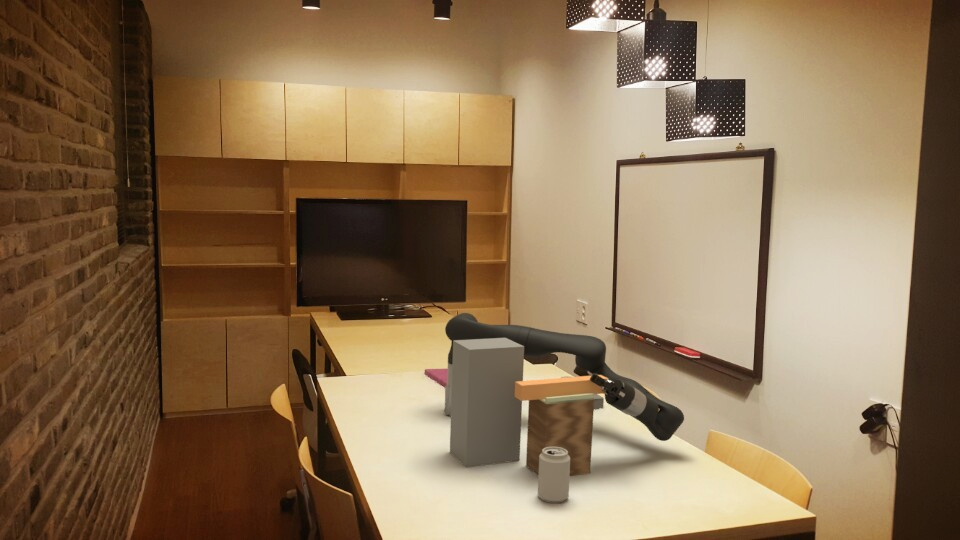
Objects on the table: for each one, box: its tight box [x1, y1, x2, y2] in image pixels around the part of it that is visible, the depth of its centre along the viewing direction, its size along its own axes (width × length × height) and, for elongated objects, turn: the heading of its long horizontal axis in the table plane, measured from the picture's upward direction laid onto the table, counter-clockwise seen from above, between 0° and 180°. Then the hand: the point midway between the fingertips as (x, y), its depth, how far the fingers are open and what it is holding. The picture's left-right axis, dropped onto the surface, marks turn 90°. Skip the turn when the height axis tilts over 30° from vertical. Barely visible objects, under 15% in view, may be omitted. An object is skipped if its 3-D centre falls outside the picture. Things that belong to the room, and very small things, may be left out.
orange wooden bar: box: [515, 375, 609, 402], centre depth 194 cm, size 26×4×4 cm, turn 113°
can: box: [537, 447, 570, 504], centre depth 178 cm, size 8×8×12 cm
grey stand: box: [449, 338, 525, 468], centre depth 203 cm, size 16×12×32 cm
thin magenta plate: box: [424, 368, 448, 388], centre depth 281 cm, size 40×4×27 cm
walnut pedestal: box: [525, 399, 595, 477], centre depth 196 cm, size 14×10×20 cm
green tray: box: [539, 393, 594, 404], centre depth 195 cm, size 14×10×2 cm
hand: (583, 372), depth 196 cm, fingers open, 8 cm apart
